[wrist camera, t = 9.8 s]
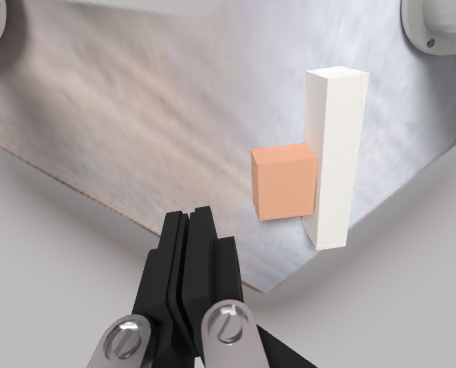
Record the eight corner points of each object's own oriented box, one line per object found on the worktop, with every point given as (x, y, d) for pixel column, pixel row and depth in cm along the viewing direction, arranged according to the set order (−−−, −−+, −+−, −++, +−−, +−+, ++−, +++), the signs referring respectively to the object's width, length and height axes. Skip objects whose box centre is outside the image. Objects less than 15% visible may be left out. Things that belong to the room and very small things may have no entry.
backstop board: (340, 66, 30) (369, 73, 25) (327, 219, 41) (345, 246, 36) (306, 71, 30) (327, 78, 25) (301, 223, 41) (316, 250, 36)
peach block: (303, 142, 35) (317, 158, 30) (300, 194, 39) (312, 214, 34) (250, 148, 34) (257, 165, 30) (252, 199, 38) (259, 221, 34)
